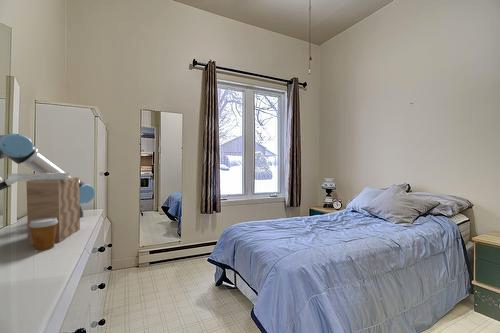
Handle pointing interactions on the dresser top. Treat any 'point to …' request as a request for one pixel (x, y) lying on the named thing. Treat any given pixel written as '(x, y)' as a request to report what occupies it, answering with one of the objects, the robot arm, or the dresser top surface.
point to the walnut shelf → (54, 205)
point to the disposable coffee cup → (43, 233)
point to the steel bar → (38, 176)
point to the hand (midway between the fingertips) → (11, 176)
